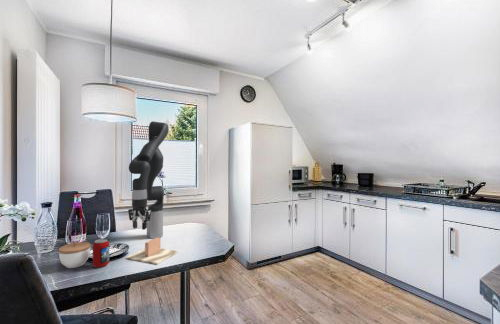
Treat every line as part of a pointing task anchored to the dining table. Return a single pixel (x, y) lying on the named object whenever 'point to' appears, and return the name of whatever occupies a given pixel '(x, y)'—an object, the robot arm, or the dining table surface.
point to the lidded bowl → (74, 254)
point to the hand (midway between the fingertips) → (139, 228)
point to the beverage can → (100, 253)
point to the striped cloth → (152, 256)
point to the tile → (152, 246)
